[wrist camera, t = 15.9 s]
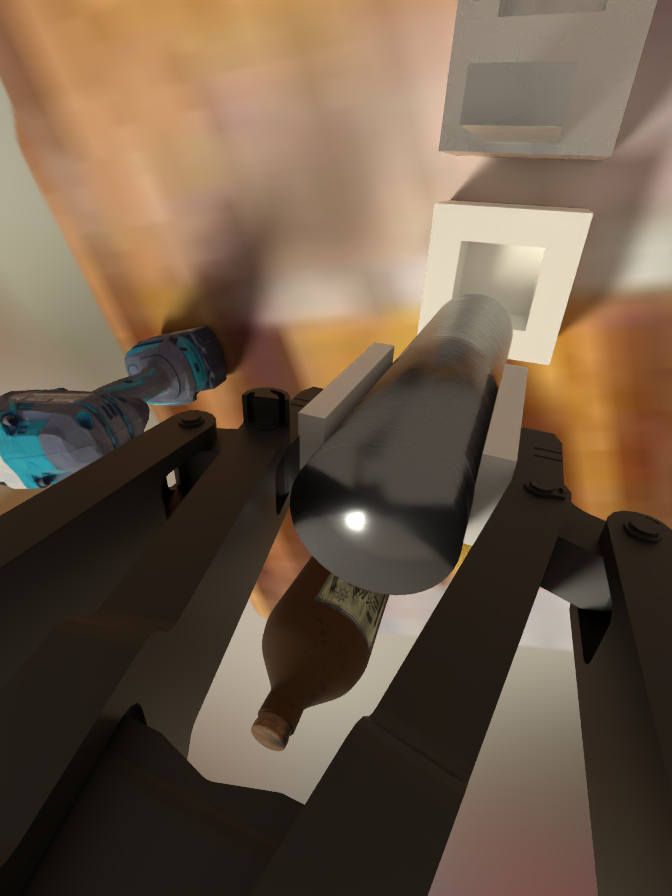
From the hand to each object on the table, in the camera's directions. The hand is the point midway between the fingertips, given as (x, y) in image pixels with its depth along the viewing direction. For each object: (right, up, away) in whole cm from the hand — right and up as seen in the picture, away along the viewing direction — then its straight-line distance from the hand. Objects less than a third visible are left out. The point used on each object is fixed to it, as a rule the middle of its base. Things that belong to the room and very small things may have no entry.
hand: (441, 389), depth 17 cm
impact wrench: (-21, +9, +38) cm, 44 cm away
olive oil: (0, -14, +41) cm, 43 cm away
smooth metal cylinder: (+3, +4, +6) cm, 8 cm away
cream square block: (+10, +12, +21) cm, 26 cm away
